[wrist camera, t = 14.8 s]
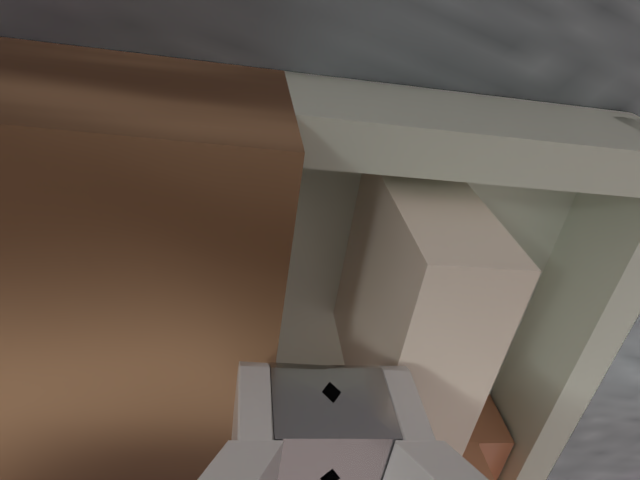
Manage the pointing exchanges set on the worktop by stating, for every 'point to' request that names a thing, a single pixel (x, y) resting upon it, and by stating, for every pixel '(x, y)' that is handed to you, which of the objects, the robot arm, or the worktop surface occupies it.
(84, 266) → the wooden box
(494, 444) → the tile
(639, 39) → the worktop surface
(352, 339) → the tile
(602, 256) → the tray
